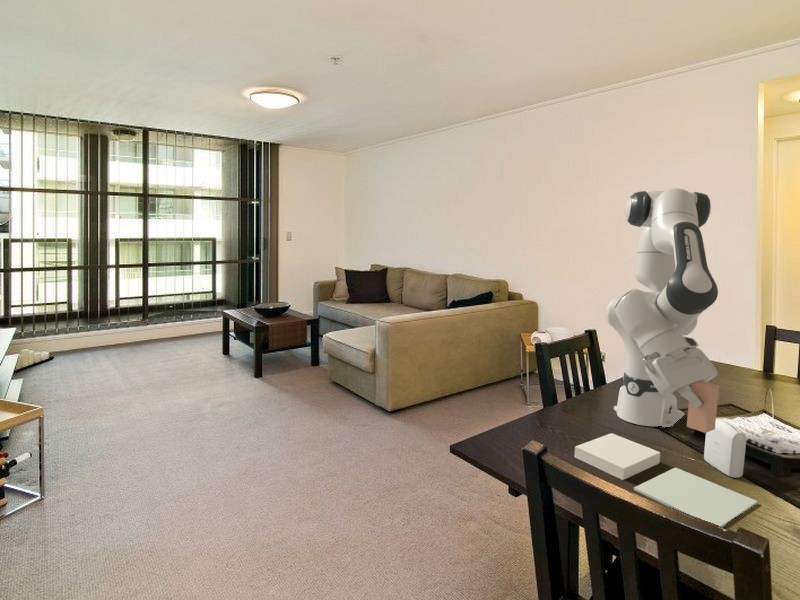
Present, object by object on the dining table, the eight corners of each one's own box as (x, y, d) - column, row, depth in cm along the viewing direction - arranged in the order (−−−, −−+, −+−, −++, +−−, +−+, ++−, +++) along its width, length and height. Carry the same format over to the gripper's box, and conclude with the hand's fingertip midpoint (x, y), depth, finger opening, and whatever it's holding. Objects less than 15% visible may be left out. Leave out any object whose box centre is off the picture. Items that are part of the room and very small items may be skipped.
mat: (675, 469, 121) (675, 467, 121) (757, 503, 106) (757, 501, 106) (633, 489, 112) (633, 487, 112) (717, 530, 97) (718, 527, 97)
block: (695, 422, 109) (699, 380, 108) (714, 429, 106) (719, 385, 105) (686, 426, 107) (690, 383, 106) (705, 432, 104) (710, 388, 102)
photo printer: (700, 459, 127) (704, 414, 125) (716, 458, 127) (720, 414, 125) (728, 478, 117) (733, 430, 115) (745, 478, 117) (751, 430, 115)
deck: (610, 443, 136) (611, 433, 136) (659, 463, 125) (660, 452, 124) (574, 457, 128) (574, 446, 127) (622, 480, 116) (623, 468, 116)
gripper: (650, 349, 104) (693, 405, 97) (698, 338, 115) (740, 388, 108) (629, 364, 109) (669, 419, 102) (677, 352, 120) (716, 401, 113)
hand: (706, 403), depth 105 cm, fingers closed on block, 4 cm apart
